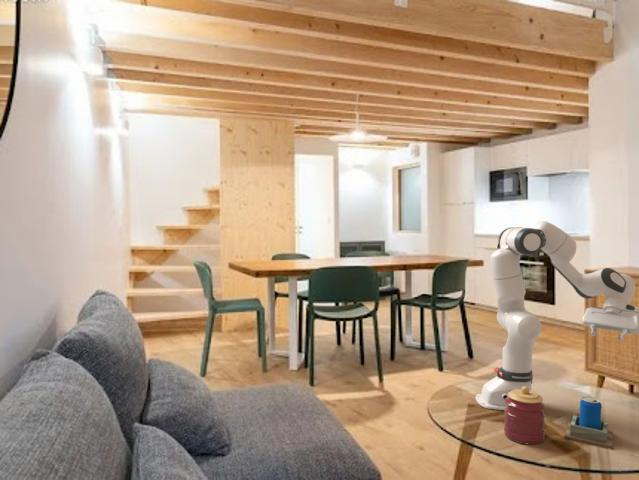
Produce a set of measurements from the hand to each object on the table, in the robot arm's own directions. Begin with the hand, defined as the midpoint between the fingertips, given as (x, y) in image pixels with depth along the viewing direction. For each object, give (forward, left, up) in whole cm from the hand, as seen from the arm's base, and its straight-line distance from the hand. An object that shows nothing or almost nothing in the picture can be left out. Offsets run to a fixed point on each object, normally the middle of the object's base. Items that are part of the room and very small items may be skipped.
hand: (606, 337), depth 192 cm
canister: (-40, -25, -30) cm, 55 cm away
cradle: (-17, -23, -29) cm, 41 cm away
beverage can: (-16, -23, -29) cm, 40 cm away
